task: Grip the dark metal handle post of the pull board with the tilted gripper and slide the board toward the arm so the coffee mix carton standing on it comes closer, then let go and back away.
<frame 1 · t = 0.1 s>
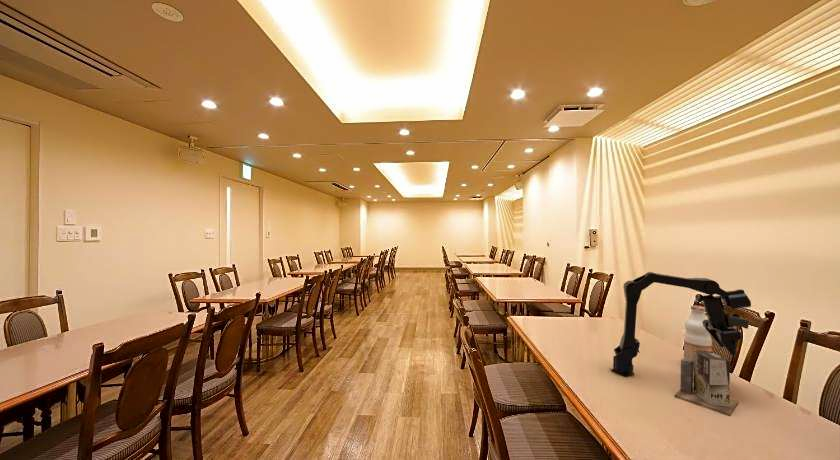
hand: (727, 350, 124), 15 cm above the table, tool pointing down, fingers open, 9 cm apart
coffee box: (710, 400, 115), point 1 cm above the table, touching pull board
fruit juice: (697, 369, 143), on the table
pull board: (706, 382, 116), point 6 cm above the table, slide at 1.1 cm, touching coffee box
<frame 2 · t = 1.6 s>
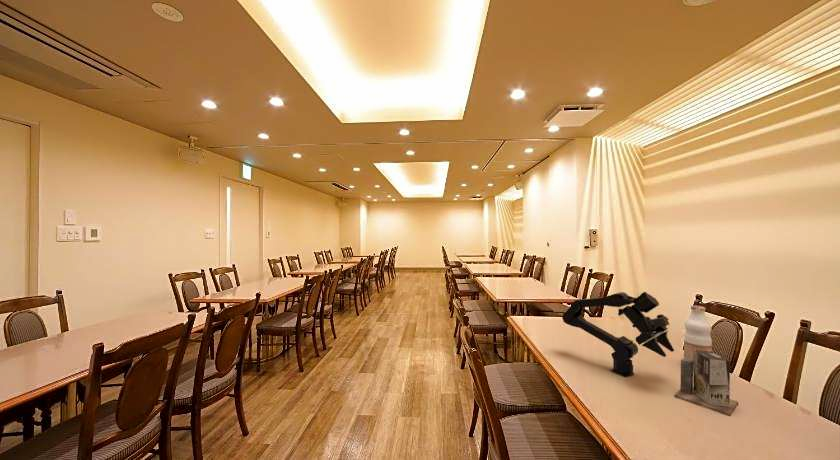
hand: (669, 353, 125), 13 cm above the table, tool tilted 45°, fingers open, 9 cm apart
nothing on the table moved.
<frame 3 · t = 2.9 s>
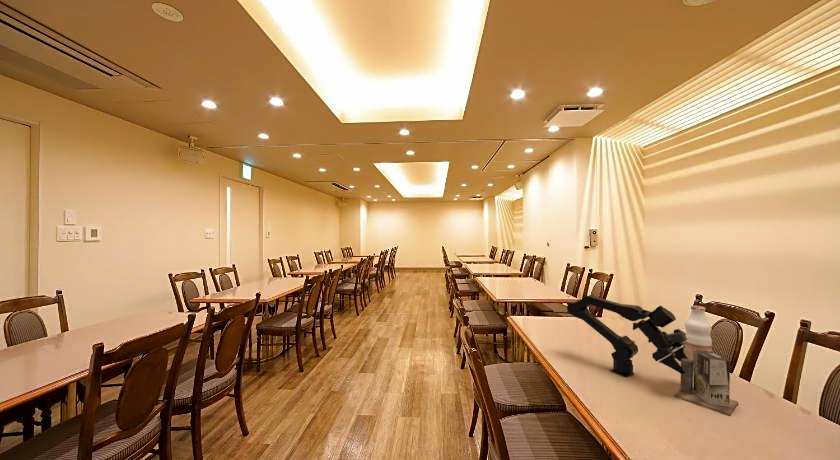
hand: (687, 370, 120), 9 cm above the table, tool tilted 45°, fingers open, 9 cm apart
nothing on the table moved.
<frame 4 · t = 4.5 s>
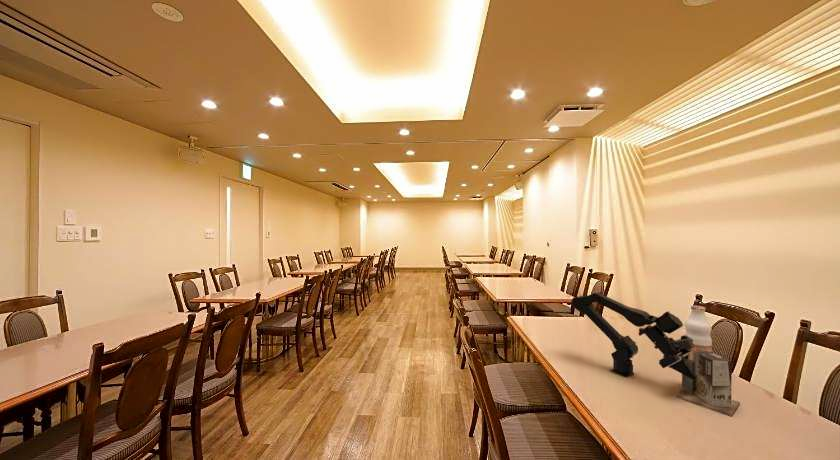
hand: (695, 377, 119), 7 cm above the table, tool tilted 45°, fingers closed on pull board, 3 cm apart
coffee box: (711, 400, 115), point 1 cm above the table, touching gripper
pull board: (707, 383, 116), point 6 cm above the table, slide at 0.6 cm, touching gripper
everything else where it was.
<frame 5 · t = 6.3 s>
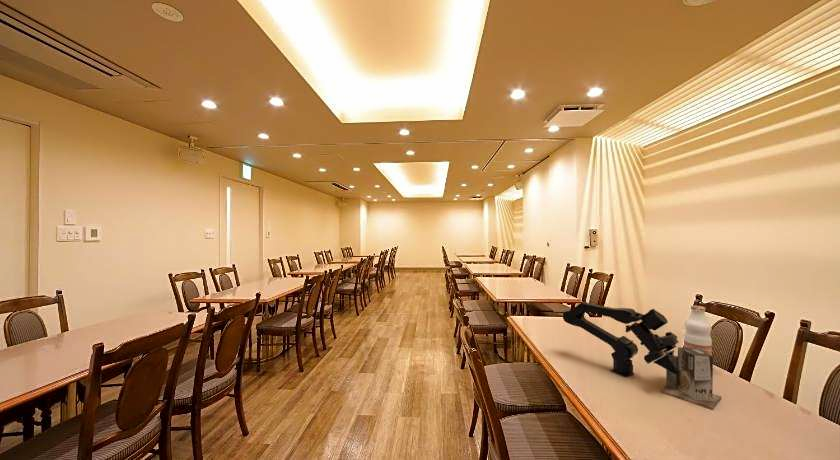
hand: (678, 372, 123), 7 cm above the table, tool tilted 45°, fingers closed on pull board, 3 cm apart
coffee box: (694, 395, 119), point 1 cm above the table, touching gripper, pull board
pull board: (690, 378, 120), point 6 cm above the table, slide at 5.5 cm, touching coffee box, gripper
everything else where it was.
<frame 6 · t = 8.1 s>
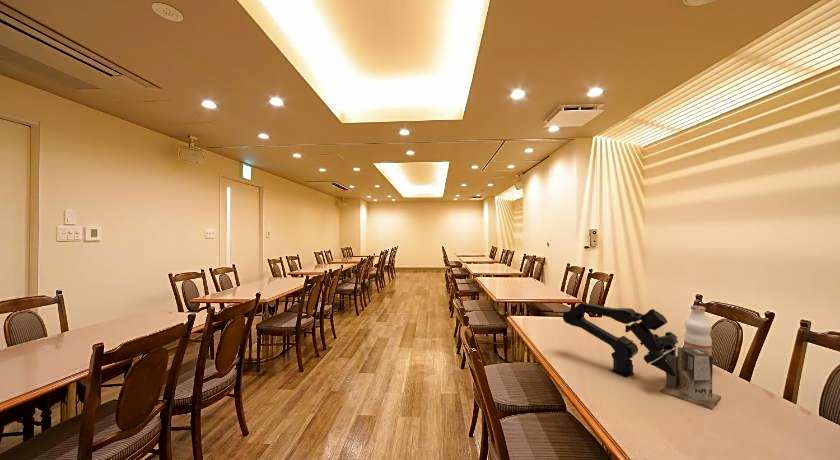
hand: (678, 372, 123), 7 cm above the table, tool tilted 45°, fingers open, 9 cm apart
coffee box: (694, 395, 119), point 1 cm above the table, touching pull board
pull board: (690, 378, 120), point 6 cm above the table, slide at 5.6 cm, touching coffee box
everything else where it was.
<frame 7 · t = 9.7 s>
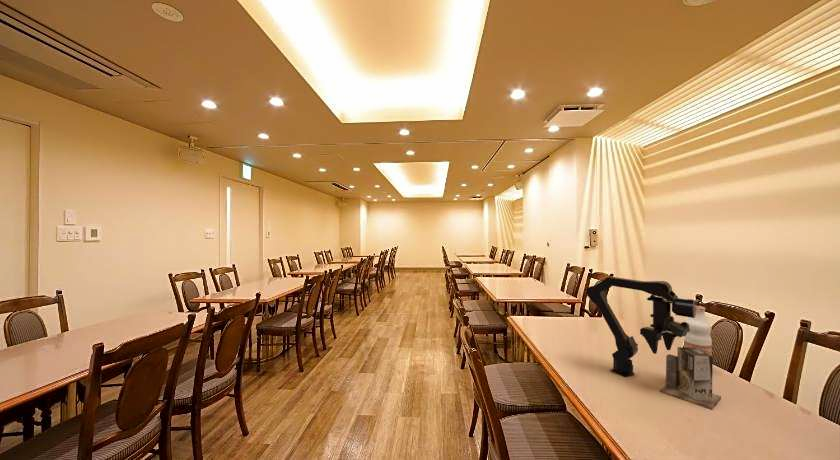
hand: (661, 351, 128), 13 cm above the table, tool pointing down, fingers open, 9 cm apart
nothing on the table moved.
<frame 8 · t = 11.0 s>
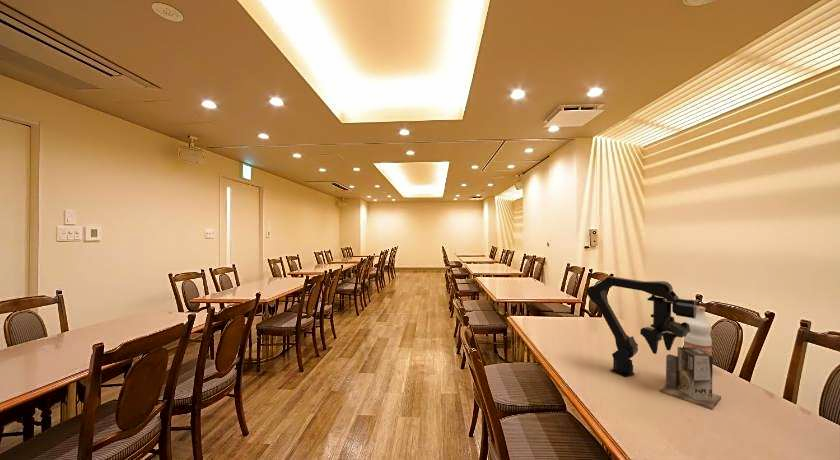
hand: (661, 351, 128), 13 cm above the table, tool pointing down, fingers open, 9 cm apart
nothing on the table moved.
at the end: pull board slide at 5.6 cm; coffee box inside the target area (1.7 cm from its centre), point 0.6 cm above the table; coffee box tilted 0° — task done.
